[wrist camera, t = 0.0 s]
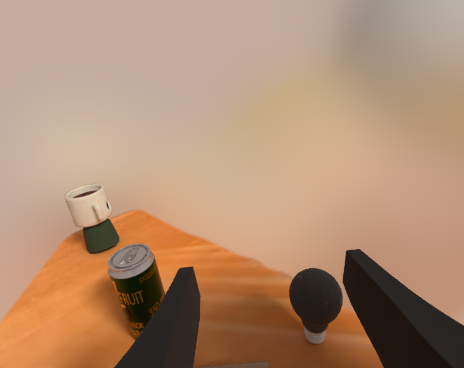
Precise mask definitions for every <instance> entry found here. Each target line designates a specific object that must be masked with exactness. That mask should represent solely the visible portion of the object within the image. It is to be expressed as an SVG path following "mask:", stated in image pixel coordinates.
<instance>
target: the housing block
mask: <svg viewBox="0 0 464 368" xmlns="http://www.w3.org/2000/svg"><path fill="white" fill-rule="evenodd" d="M198 368H270V366H269V361H262V362H251V363H241V364H230V365H219V366H208V367H198Z"/></svg>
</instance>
